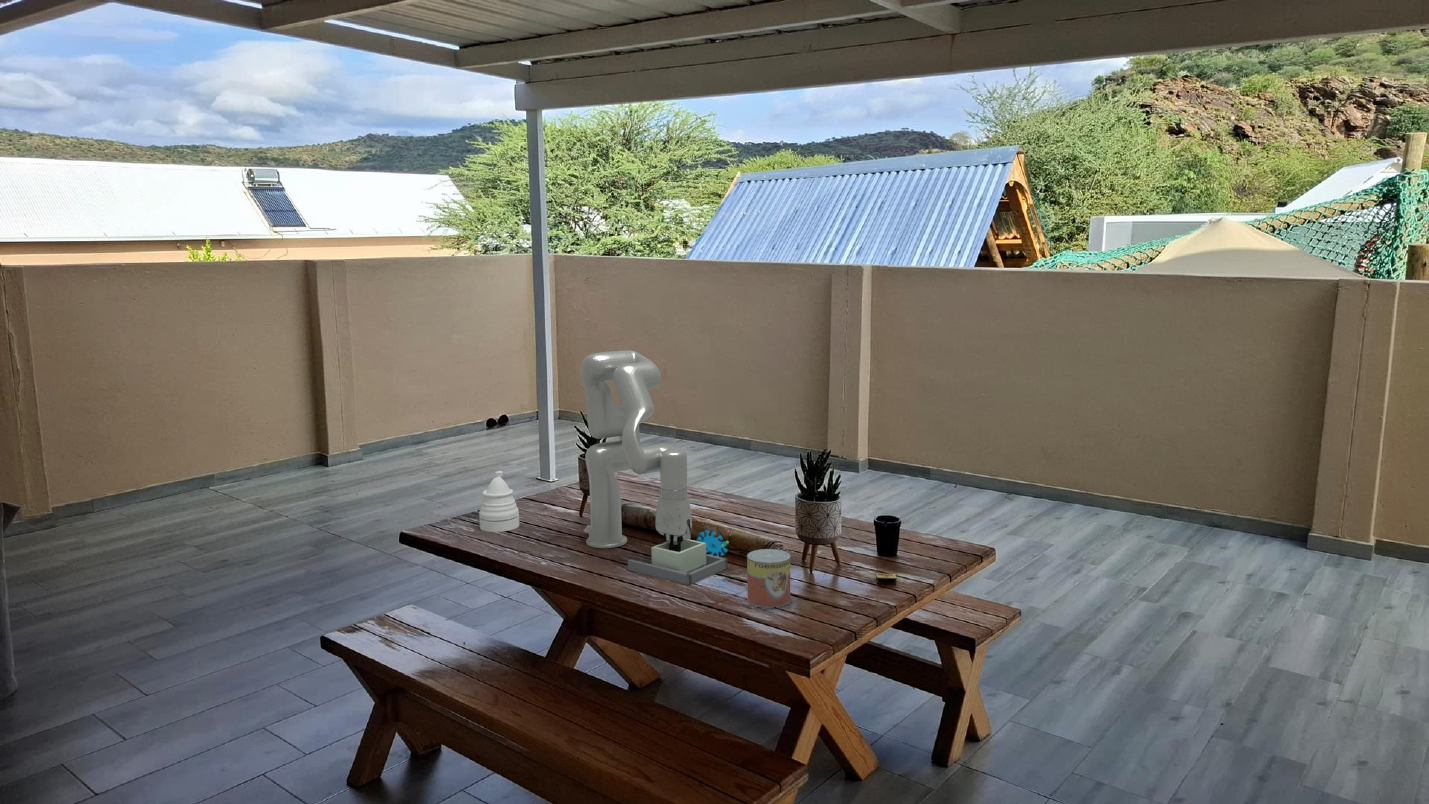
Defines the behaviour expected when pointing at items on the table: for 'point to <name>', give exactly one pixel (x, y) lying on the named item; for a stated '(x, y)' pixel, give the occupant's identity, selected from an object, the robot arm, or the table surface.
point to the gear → (713, 543)
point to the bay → (712, 567)
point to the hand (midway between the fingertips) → (674, 556)
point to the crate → (680, 556)
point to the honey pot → (498, 507)
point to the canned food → (768, 578)
